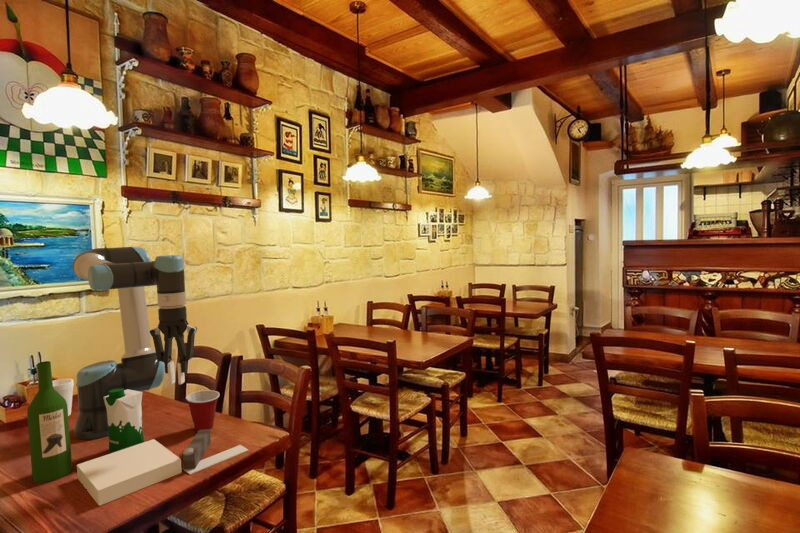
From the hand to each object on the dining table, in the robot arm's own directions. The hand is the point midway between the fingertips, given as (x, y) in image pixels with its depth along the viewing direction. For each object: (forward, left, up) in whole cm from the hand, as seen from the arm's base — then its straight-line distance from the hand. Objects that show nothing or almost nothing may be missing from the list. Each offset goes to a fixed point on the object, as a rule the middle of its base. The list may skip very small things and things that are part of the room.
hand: (176, 382), depth 135 cm
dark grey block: (+6, +2, -22) cm, 23 cm away
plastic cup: (-13, +13, -23) cm, 30 cm away
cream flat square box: (+1, -15, -22) cm, 27 cm away
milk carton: (-17, -10, -23) cm, 30 cm away
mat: (+12, +5, -22) cm, 26 cm away
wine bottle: (-17, -29, -23) cm, 40 cm away
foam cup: (-69, -17, -23) cm, 75 cm away
